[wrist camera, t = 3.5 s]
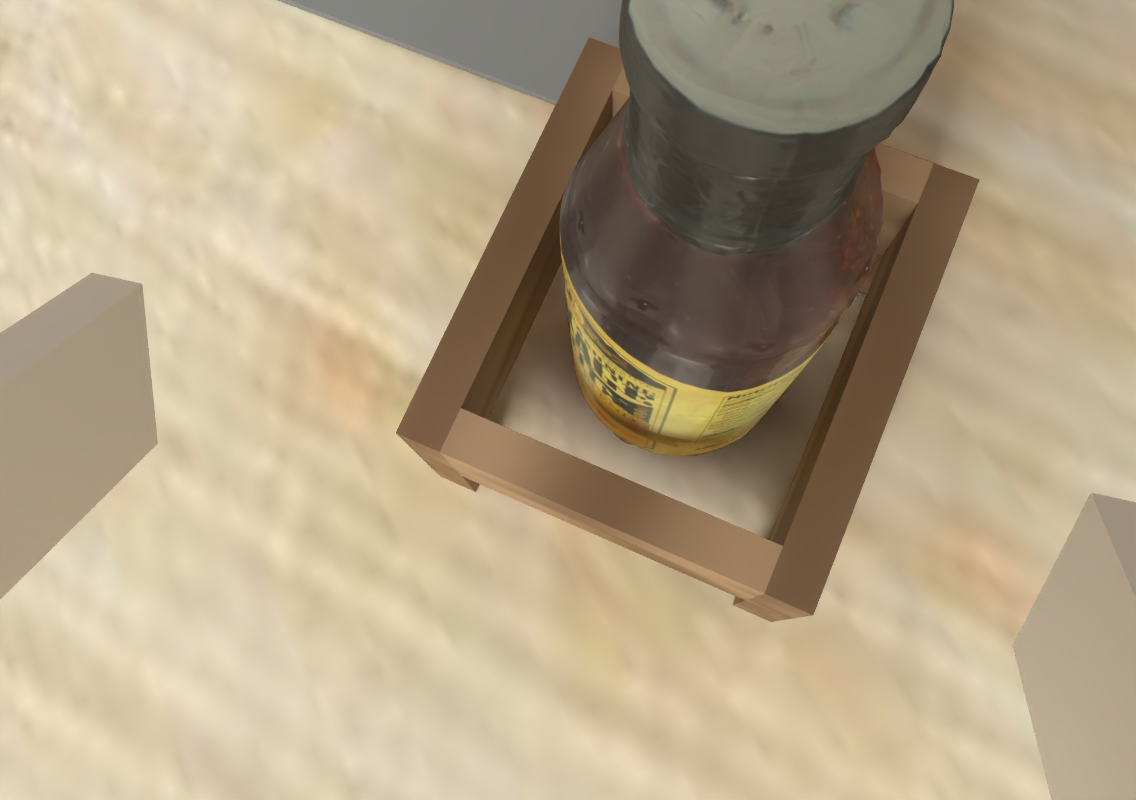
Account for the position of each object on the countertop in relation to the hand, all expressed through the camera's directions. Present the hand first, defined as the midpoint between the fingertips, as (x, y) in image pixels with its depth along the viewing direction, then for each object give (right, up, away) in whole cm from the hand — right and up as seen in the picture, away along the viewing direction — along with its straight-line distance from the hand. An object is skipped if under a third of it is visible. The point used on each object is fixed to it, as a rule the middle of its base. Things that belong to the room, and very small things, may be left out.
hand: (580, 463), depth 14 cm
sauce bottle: (+3, +2, +18) cm, 18 cm away
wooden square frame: (+3, +2, +17) cm, 18 cm away
